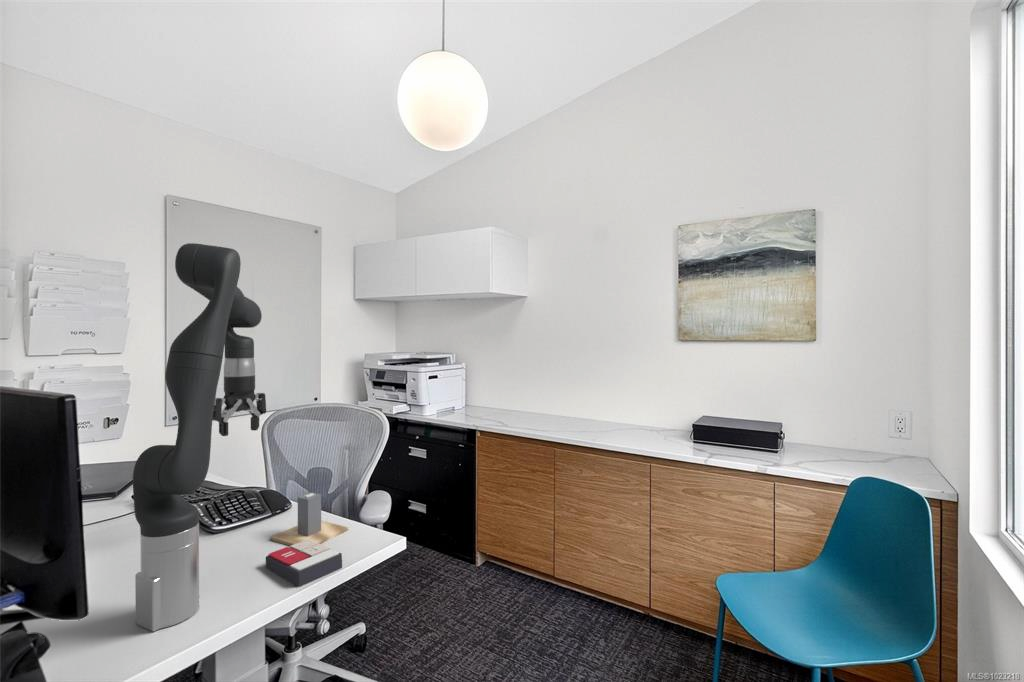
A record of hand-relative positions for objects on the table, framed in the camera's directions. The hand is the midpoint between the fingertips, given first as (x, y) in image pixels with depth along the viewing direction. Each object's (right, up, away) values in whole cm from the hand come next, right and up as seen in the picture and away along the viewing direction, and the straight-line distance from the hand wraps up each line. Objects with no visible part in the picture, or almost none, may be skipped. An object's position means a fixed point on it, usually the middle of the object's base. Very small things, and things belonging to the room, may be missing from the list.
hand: (239, 432), depth 128 cm
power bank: (+20, -27, -1) cm, 34 cm away
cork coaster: (+20, -28, -1) cm, 34 cm away
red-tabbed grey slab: (+26, -29, -18) cm, 43 cm away
